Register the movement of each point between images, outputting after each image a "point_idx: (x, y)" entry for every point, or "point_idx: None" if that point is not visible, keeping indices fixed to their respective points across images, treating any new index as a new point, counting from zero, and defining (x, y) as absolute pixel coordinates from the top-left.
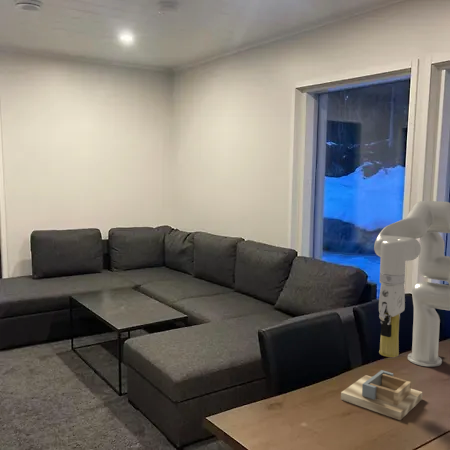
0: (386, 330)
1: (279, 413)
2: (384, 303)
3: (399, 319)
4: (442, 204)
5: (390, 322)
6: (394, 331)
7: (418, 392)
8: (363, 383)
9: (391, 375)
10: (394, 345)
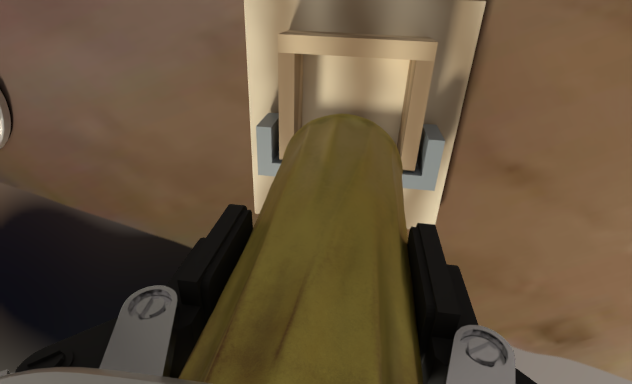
0: (464, 297)
1: (604, 311)
2: None
3: (154, 286)
4: None
5: (458, 351)
6: (379, 229)
7: (259, 4)
8: (427, 189)
9: (271, 128)
10: (375, 160)
